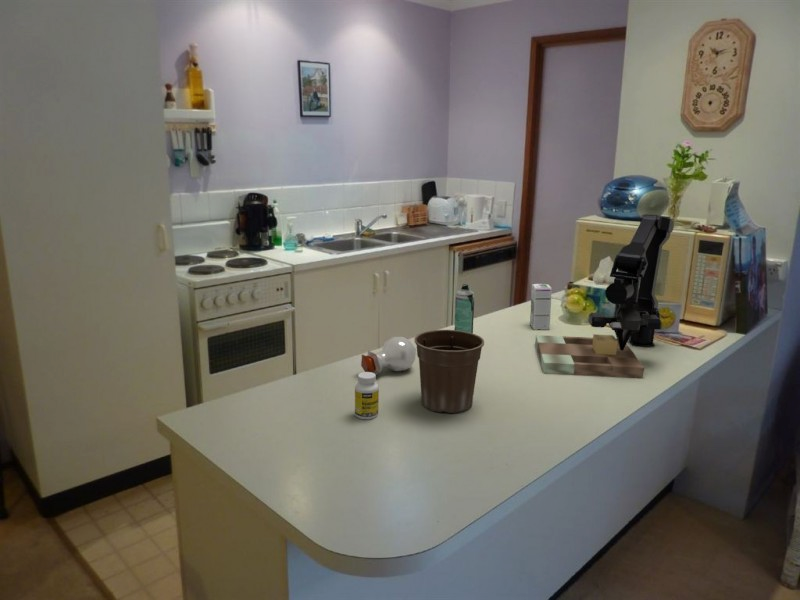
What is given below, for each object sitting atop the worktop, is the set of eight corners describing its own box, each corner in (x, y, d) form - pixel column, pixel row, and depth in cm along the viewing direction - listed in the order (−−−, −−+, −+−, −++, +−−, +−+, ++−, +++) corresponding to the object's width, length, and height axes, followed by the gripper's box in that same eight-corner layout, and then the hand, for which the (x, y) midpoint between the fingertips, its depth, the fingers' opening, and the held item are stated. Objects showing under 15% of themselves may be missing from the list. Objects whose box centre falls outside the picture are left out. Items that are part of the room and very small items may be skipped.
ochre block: (611, 348, 179) (613, 335, 178) (616, 354, 174) (617, 341, 173) (592, 347, 179) (593, 334, 178) (596, 353, 174) (597, 340, 173)
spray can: (475, 348, 186) (477, 284, 181) (467, 353, 182) (469, 287, 177) (458, 345, 189) (461, 281, 184) (450, 350, 185) (452, 285, 180)
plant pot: (444, 384, 160) (446, 324, 155) (495, 403, 148) (498, 339, 144) (399, 402, 149) (400, 338, 144) (450, 424, 137) (452, 356, 133)
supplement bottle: (360, 422, 138) (360, 381, 136) (351, 412, 143) (350, 372, 140) (382, 417, 141) (382, 376, 138) (372, 408, 145) (372, 368, 143)
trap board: (622, 348, 188) (623, 339, 187) (642, 378, 165) (644, 367, 164) (535, 344, 191) (535, 335, 190) (543, 373, 168) (544, 362, 167)
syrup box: (549, 330, 205) (553, 287, 201) (532, 329, 205) (534, 287, 201) (546, 325, 210) (549, 283, 207) (528, 324, 211) (531, 283, 207)
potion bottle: (417, 371, 172) (371, 389, 164) (400, 345, 176) (354, 361, 168) (427, 352, 165) (380, 370, 157) (408, 325, 169) (361, 340, 162)
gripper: (598, 302, 165) (593, 358, 169) (670, 305, 163) (664, 361, 167) (590, 292, 176) (585, 345, 180) (658, 295, 174) (652, 347, 178)
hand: (621, 349), depth 176 cm, fingers closed
